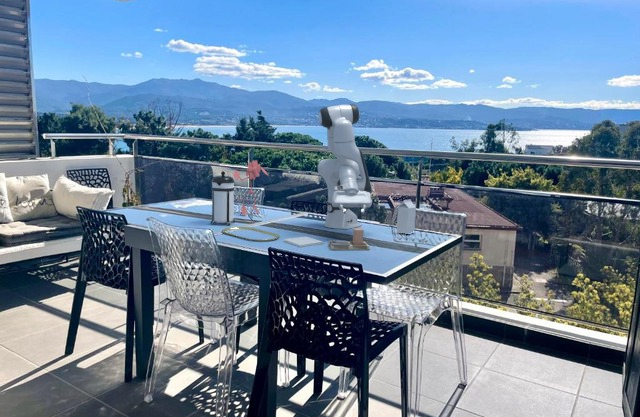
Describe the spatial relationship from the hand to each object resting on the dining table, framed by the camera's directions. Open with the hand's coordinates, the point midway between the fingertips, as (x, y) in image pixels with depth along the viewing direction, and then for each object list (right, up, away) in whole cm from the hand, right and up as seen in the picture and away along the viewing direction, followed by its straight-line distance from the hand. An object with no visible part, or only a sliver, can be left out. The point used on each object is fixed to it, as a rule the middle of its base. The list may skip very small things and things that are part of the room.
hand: (353, 213), depth 245 cm
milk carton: (+31, -12, +29) cm, 44 cm away
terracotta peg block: (+1, -17, -9) cm, 19 cm away
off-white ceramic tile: (-25, -14, -2) cm, 29 cm away
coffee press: (-73, -6, +39) cm, 83 cm away
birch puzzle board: (-3, -16, -10) cm, 19 cm away
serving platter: (-53, -12, +11) cm, 55 cm away
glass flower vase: (-59, -2, +68) cm, 90 cm away
